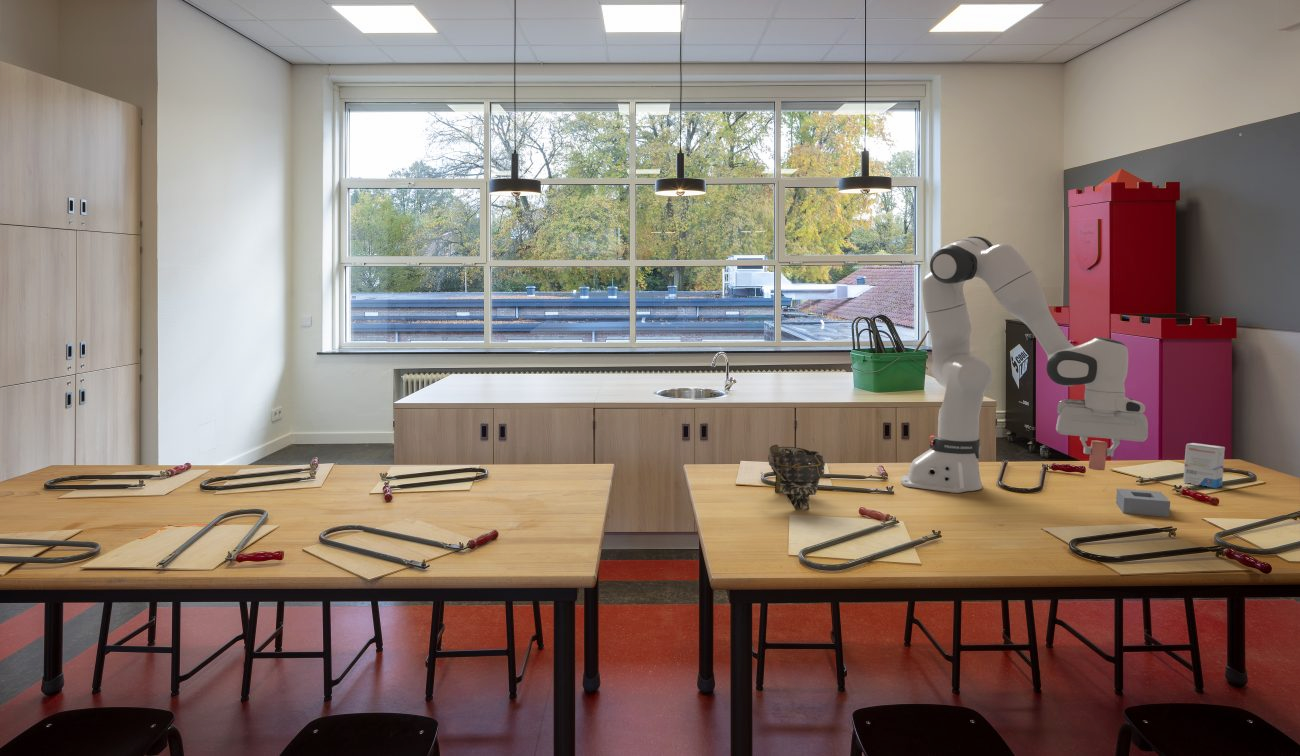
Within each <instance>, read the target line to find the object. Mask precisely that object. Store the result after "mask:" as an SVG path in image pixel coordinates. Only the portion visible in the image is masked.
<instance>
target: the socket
mask: <svg viewBox="0 0 1300 756" xmlns="http://www.w3.org/2000/svg"><path fill="white" fill-rule="evenodd" d="M1115 504H1116V505H1117V506H1118V507H1119V509H1120V511H1121V512H1122V513H1123V514H1132V515H1140V516H1143V515H1144V516H1154V517H1155V516H1156V517H1165V518H1170V511H1171V510H1170V509H1171V501H1170V499H1168V497H1166V495H1165V494H1164V493H1162V491H1158V490H1157V491H1153V490H1143V489H1141V490H1140V489H1129V488H1116V498H1115Z"/></svg>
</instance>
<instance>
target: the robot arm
mask: <svg viewBox="0 0 1300 756" xmlns="http://www.w3.org/2000/svg"><path fill="white" fill-rule="evenodd" d="M929 268H930V270H929V272H928V273H927V274H926V275H925V276H924V278H923V279H922V282H921V284H922V285H921V287H922V290H921V291H922V301H923V307H924V311H925V316H926V317H925V318H926V320H927V325H928V329H929V334H930V338H931V353H932V356H931V357H932V358H931V359H932V365H931V373H932V376H933V378H934V379H935V381H936V382H937V383H938V384H939V385H940V386H941V387H944V388H945V393H944V396H943V400H942V404H941V406H940V408H939V410H938V416H937V417H938V419H937V420H938V421H937V422H938V423H937V435H930V437H929V438H928V440H929V449H927V450H926V451H925V452H923V453H921V454H920V455H919V456H917V457H915V458H914V459H913V460H912V461H911V464H910V466H909V469H908V473H906V474H904V475H902V476H901V477H900V478H901V479H900V483H901V484H902V485H903V486H905V487H907V488H908V487H909V488H917V489H924V490H933V491H938V492H946V493H947V492H948V493H953V494H959V493H964V492H973V491H978V490H981V489H983V483H982V480H981V475H980V467H979V466H980V465H979V458H980V455H981V440H980V439H979V431H980V416H981V415H980V413H981V408H982V405H983V401H984V397H985V394H986V390H987V388H988V387H990V385H991V382H992V379H993V372H992V369H991V367H990V366H989V364H988V363H986V361H984V360H983V359H982V358H981V357H978V356H975V355H972V353H971V350H970V349H971V347H970V346H971V343H970V342H971V340H970V338H971V333H972V325H971V320H970V316H969V311H968V307H967V303H966V299H965V295H964V284H965V282H966V281H971V280H972V279H973V278H979V279H981V280H982V281H984V283H986V285H987V286H988V288H989V290H990V291H991V293H992V294H993V296H994V297H995V299H996V300H997V301H998V303H999V304H1000V305H1001V306H1002V308H1003V309H1004V310H1005V311H1007V313H1008V314H1010V315H1011V316H1013V317H1014V318H1016V319H1018V320H1019V321H1021V322H1022V323H1023V324H1024V325H1026V326H1027V328H1028V329H1029V330H1030V331H1031V332H1032V335H1033V336H1034V337H1035V339H1036V340H1037V342H1038V343H1039V345H1040V346H1041V347H1042V349H1043V350H1044V352H1045V354H1046V358H1047V364H1046V373H1047V375H1048V378H1049V379H1050V380H1051V381H1052V382H1054V383H1055V384H1057V385H1060V386H1061V387H1062V386H1063V387H1074V386H1077V385H1078V386H1080V385H1084V386H1085V387H1084V396H1083V399H1069V398H1065V399H1062V400H1060V401H1059V402H1058V403H1057V405H1056V406H1057V407H1056V413H1057V414H1058V416H1057V421H1056V425H1055V430H1056V433H1058V434H1059V435H1065V436H1076V437H1079V440H1080V442H1081V444H1082V446H1083V454H1085V455H1090V454H1091V446H1088V445H1087V443H1086V442H1087V441H1088V438H1097V439H1099V438H1100V439H1109V440H1111V442H1112V445H1111V446H1110V447H1109V448H1108V447H1107V453H1106V457H1114V452H1115V450H1116V449H1117V447H1119V445H1120V444H1121V440H1122V441H1130V442H1141V443H1142V442H1143V443H1144V442H1145V441H1146V440H1147V439H1148V437H1149V423H1148V418H1147V416H1146V415H1145V414H1144V413H1145V412H1146V405H1144V403H1142V402H1140V401H1137V400H1136V399H1135V400H1134V399H1133V398H1131V397H1126V387H1125V381H1126V379H1127V376H1128V370H1129V350H1128V347H1127V346H1126V345H1125V343H1123V342H1121V341H1120V340H1116V339H1112V338H1107V337H1102V336H1101V337H1100V336H1096V337H1094V338H1093V339H1090V340H1089V341H1087V342H1083V343H1082V344H1078V345H1075V344H1073V343H1072V342H1071V341H1070V340H1069V339H1068V337H1067V336H1066V335H1065V334H1064V332H1063V330H1062V329H1061V327H1060V326H1059V324H1058V323H1057V321H1056V320H1055V318H1054V316H1053V315H1052V313H1051V311H1050V308H1049V305H1048V303H1047V298H1046V295H1045V293H1044V290H1043V288H1042V285H1041V283H1040V281H1039V278H1038V276H1037V275H1036V274H1035V272H1034V270H1033V269H1032V268H1031V266H1030V265H1029V263H1028V262H1027V261H1026V260H1025V258H1024V257H1023V256H1022V255H1021V254H1020V252H1018V251H1017V250H1016V249H1015V248H1014V247H1013V246H1012V245H1011V244H1008V243H998V244H994V245H993V244H992V242H991V241H989V240H988V239H986V237H985V238H984V237H981V236H969V237H965V238H960V239H957V240H954V241H952V242H951V243H949V244H946V245H944V246H941V247H940V248H938V249H937V250H936V251H935V252H934V253H933V255H932V256H931V258H930V262H929Z"/></svg>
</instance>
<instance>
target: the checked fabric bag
mask: <svg viewBox="0 0 1300 756" xmlns="http://www.w3.org/2000/svg"><path fill="white" fill-rule="evenodd" d="M767 460H768V465H769V466H770V468H771V470H772V471H773V472H772V473H773V474H774V475H775V481H774V482H775V483H774V484H775V485H774V493H778V492H780V494H782V495H786V496H787V499H788V500H789V501H790V503H791V505H792V507H793V509H794V510H795V511H801V510H803V511H804V510H810V496H815V495H816V494H817V493H818V492H817V491H818V487H819V483H820V479H821V478H822V477H823V476H824V475H825V466H826V462H825V460H824V457H823V455H821V453H820V452H819V451H817V450H816V451H815V450H811V451H810V450H808V449H805V448H800V447H795V446H779V444H773V445H771V446H770V447H769V454H768V459H767Z"/></svg>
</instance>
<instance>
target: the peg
mask: <svg viewBox="0 0 1300 756" xmlns="http://www.w3.org/2000/svg"><path fill="white" fill-rule="evenodd" d="M1090 447H1091V454H1089V460H1088V468H1089V469H1090V470H1093V471H1105V469H1106V463H1107V462H1106V459H1107V456H1106V453H1107V448H1108V442H1106V441H1102V440H1091V441H1090Z"/></svg>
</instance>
